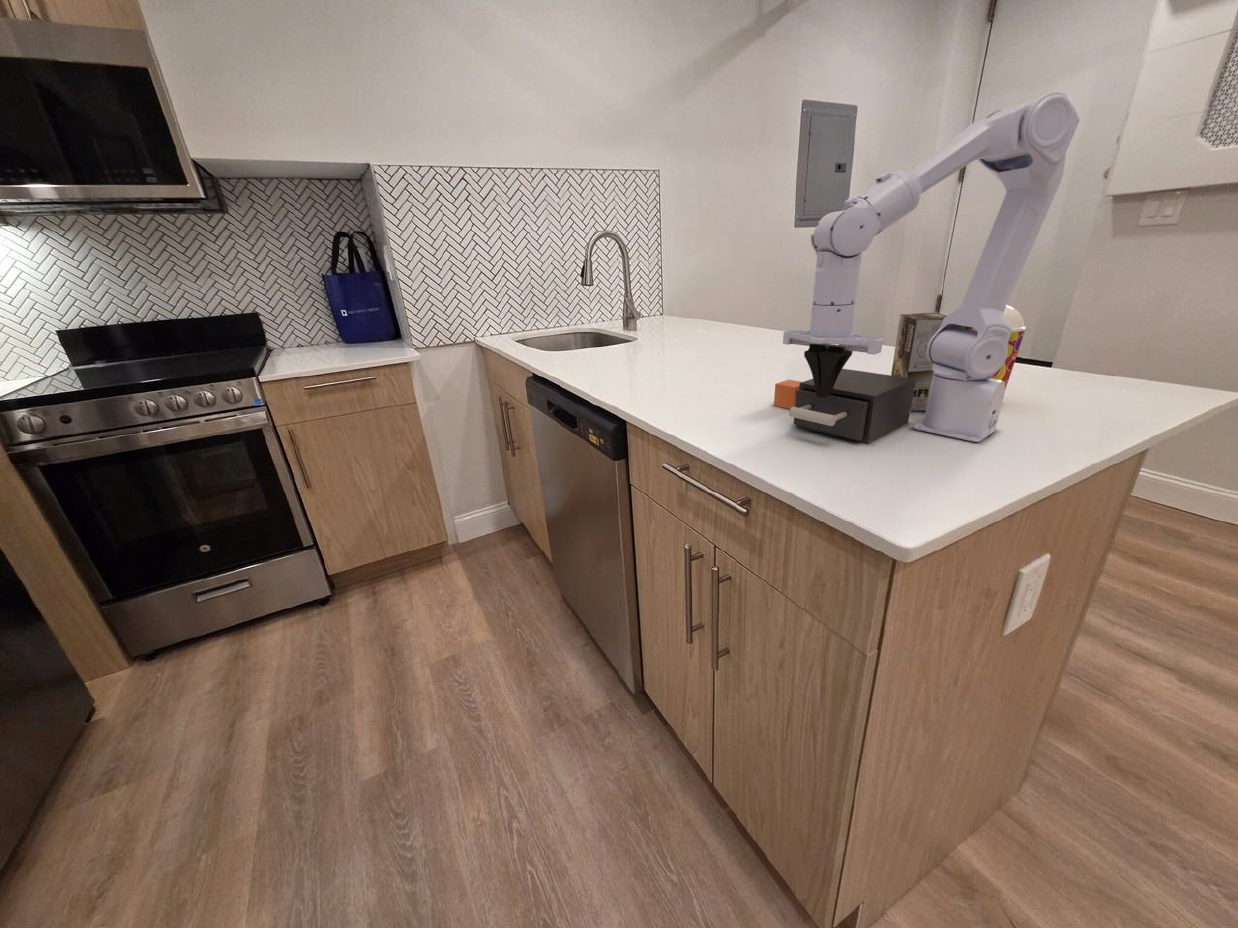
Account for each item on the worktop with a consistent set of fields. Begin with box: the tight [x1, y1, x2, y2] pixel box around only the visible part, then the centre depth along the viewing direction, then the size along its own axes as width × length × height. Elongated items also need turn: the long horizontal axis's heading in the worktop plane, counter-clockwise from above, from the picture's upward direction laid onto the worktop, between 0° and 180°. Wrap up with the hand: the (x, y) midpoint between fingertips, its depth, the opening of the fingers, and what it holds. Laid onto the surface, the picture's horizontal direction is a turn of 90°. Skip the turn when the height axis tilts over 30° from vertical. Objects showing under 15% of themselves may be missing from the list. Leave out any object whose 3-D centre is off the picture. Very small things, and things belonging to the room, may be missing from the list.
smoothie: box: [970, 305, 1027, 391], centre depth 89 cm, size 8×8×20 cm
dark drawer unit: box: [795, 368, 916, 445], centre depth 84 cm, size 14×13×8 cm
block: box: [773, 379, 802, 410], centre depth 97 cm, size 4×4×4 cm
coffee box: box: [890, 312, 947, 412], centre depth 91 cm, size 9×6×16 cm
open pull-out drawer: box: [788, 389, 869, 440], centre depth 81 cm, size 18×11×6 cm, turn 129°
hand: (823, 395), depth 77 cm, fingers closed
